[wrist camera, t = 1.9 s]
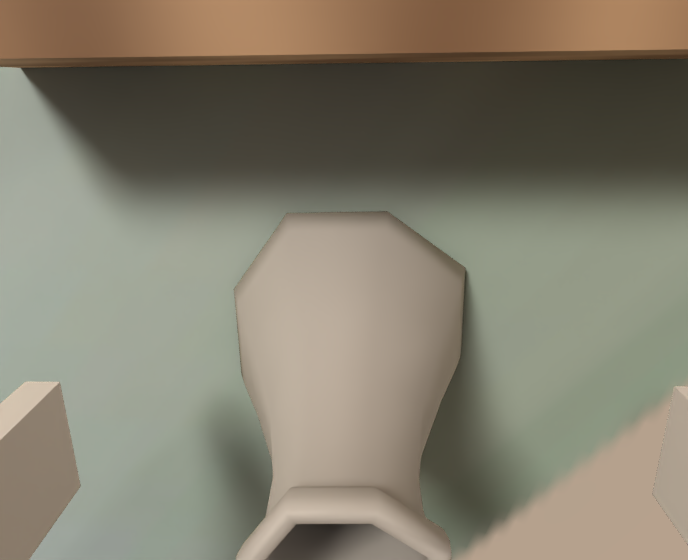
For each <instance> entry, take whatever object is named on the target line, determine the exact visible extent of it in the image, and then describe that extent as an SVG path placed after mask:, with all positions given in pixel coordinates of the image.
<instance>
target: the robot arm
mask: <svg viewBox="0 0 688 560" xmlns="http://www.w3.org/2000/svg"><path fill="white" fill-rule="evenodd" d="M79 488H80V481H79V476H78V471H77V466H76V461H75V456H74V450H73V445H72V440H71V435H70V430H69V425H68V420H67V415H66V410H65V405H64V400H63V395H62V390H61V385H60V382H25V383H23V384H22V385H21V386H20V387H19V388H18V389H17V390H15V391H14V392H13V393H12V394H11V395H10V396H9V397H7V398H6V399H5V400H4V401H3V402H2V403H1V404H0V560H29V559H30V557H31V556H32V554H33V553H34V552H35V550H36V549H37V547H38V546H39V544H40V543H41V542H42V540H43V539H44V537H45V536H46V535H47V533H48V532H49V530H50V529H51V527H52V526H53V525H54V523H55V522H56V520H57V519H58V518H59V516H60V515H61V513H62V512H63V510H64V509H65V508H66V506H67V505H68V503H69V502H70V501H71V499H72V498H73V496H74V495H75V493H76V492H77V491H78V489H79ZM652 494H653V496H654V497H655V499H656V500H657V502H658V503H659V505H660V506H661V507H662V509H663V510H664V512H665V513H666V515H667V516H668V517H669V518H670V520H671V522H672V523H673V525H674V526H675V527H676V529H677V530H678V532H679V533H680V535H681V536H682V538H683V539H684V540H685V542H686V543H687V545H688V386H674V390H673V395H672V400H671V405H670V410H669V415H668V419H667V425H666V429H665V435H664V439H663V444H662V449H661V454H660V459H659V464H658V469H657V474H656V479H655V483H654V488H653V493H652Z"/></svg>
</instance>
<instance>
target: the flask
mask: <svg viewBox="0 0 688 560" xmlns="http://www.w3.org/2000/svg"><path fill="white" fill-rule="evenodd" d="M464 284H465V267H464V266H462V265H461V264H459V263H458V262H457V261H455V260H454V259H453V258H451V257H450V256H448V255H447V254H446V253H444V252H443V251H441V250H440V249H439V248H437V247H436V246H435V245H433V244H432V243H430V242H429V241H428V240H426V239H425V238H424V237H422V236H421V235H419V234H418V233H417V232H415V231H414V230H412V229H411V228H410V227H408V226H407V225H406V224H404V223H403V222H401V221H400V220H399V219H397V218H396V217H394V216H393V215H392V214H390V213H389V212H388V211H382V212H321V213H287V214H286V215H285V217H284V218H283V219H282V221H281V222H280V224H279V225H278V227H277V228H276V229H275V231H274V232H273V234H272V235H271V237H270V238H269V240H268V241H267V242H266V244H265V245H264V247H263V248H262V250H261V251H260V252H259V254H258V255H257V257H256V258H255V260H254V261H253V262H252V264H251V265H250V267H249V268H248V270H247V271H246V273H245V274H244V275H243V277H242V278H241V280H240V281H239V283H238V284H237V285H236V287H235V288H234V296H235V307H236V318H237V329H238V340H239V351H240V362H241V373H242V377H243V380H244V383H245V386H246V389H247V391H248V393H249V396H250V398H251V401H252V403H253V406H254V408H255V410H256V413H257V415H258V418H259V421H260V424H261V427H262V431H263V434H264V437H265V440H266V443H267V447H268V450H269V453H270V456H271V459H272V466H273V480H272V485H271V490H270V496H269V501H268V507H267V512H266V517H265V518H264V519H263V520H262V522H261V523H260V524H259V525H258V526H257V528H256V529H255V530H254V531H253V532H252V533H251V535H250V536H249V537H248V538H247V539H246V541H245V542H244V543H243V545H242V547H241V548H240V550H239V552H238V554H237V557H236V560H451V546H450V540H449V538H448V536H447V534H446V533H445V531H444V529H443V528H441V527H440V526H438V525H436V524H435V523H433V522H432V521H430V520H428V519H427V518H426V517H425V514H424V511H423V505H422V498H421V491H420V483H419V475H420V464H421V456H422V453H423V450H424V448H425V445H426V442H427V439H428V436H429V434H430V431H431V428H432V425H433V422H434V420H435V417H436V414H437V411H438V409H439V406H440V403H441V401H442V398H443V396H444V394H445V392H446V389H447V387H448V385H449V383H450V381H451V378H452V376H453V374H454V372H455V370H456V367H457V365H458V362H459V359H460V356H461V341H462V322H463V303H464Z"/></svg>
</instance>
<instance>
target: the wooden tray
mask: <svg viewBox="0 0 688 560" xmlns="http://www.w3.org/2000/svg"><path fill="white" fill-rule="evenodd" d="M621 59H688V0H0V67H17V68H28V67H102V66H176V65H250V64H324V63H399V62H473V61H547V60H621Z"/></svg>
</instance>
